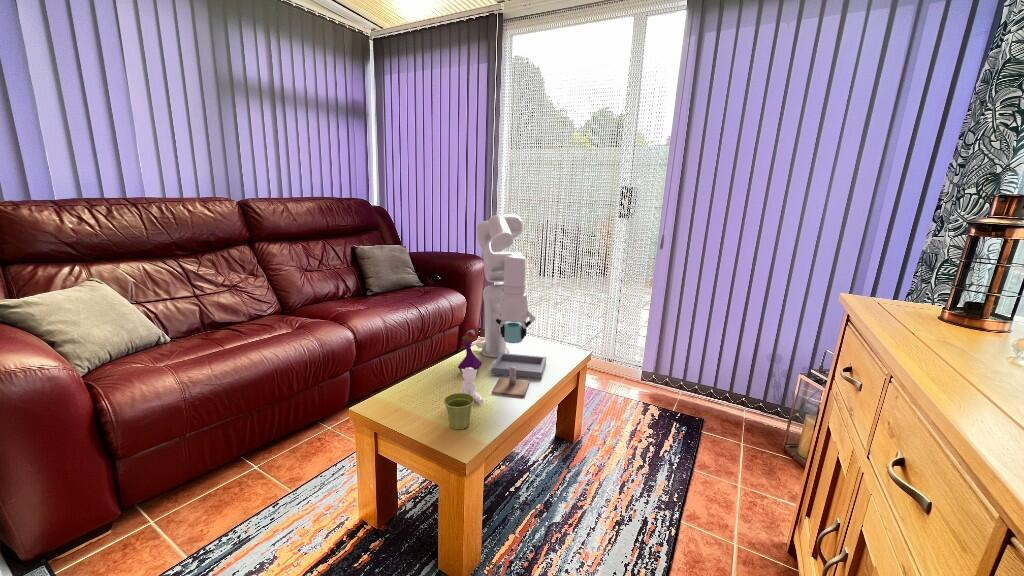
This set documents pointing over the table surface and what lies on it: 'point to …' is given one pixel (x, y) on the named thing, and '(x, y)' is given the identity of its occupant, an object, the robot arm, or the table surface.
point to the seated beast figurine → (470, 384)
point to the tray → (520, 365)
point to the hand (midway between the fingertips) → (513, 336)
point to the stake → (511, 385)
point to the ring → (512, 332)
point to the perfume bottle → (469, 355)
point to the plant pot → (459, 409)
